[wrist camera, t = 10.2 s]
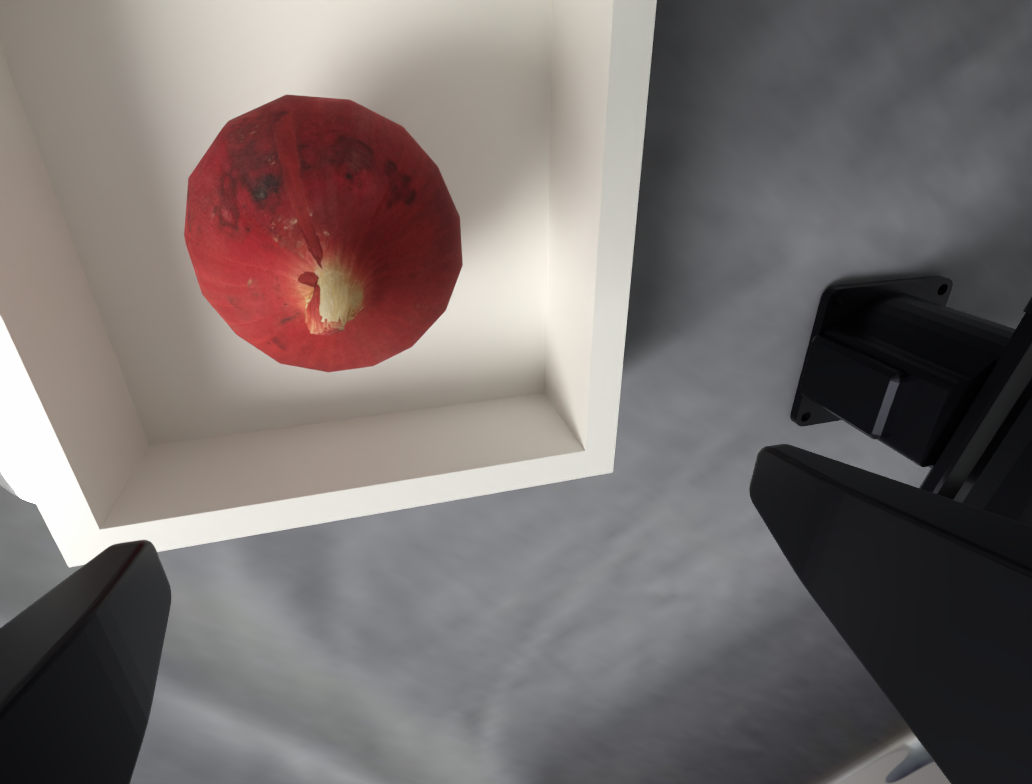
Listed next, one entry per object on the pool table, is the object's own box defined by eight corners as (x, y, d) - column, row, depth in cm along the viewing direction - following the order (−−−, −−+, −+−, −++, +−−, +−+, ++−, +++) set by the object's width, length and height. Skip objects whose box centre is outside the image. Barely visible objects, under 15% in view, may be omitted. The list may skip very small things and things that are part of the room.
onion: (172, 157, 14) (4, 200, 7) (375, 61, 14) (403, 12, 7) (302, 344, 17) (273, 501, 10) (468, 261, 17) (550, 360, 10)
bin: (578, -87, 15) (672, -169, 10) (560, 400, 22) (612, 472, 17) (-103, -144, 11) (-381, -302, 7) (134, 459, 18) (68, 567, 14)
